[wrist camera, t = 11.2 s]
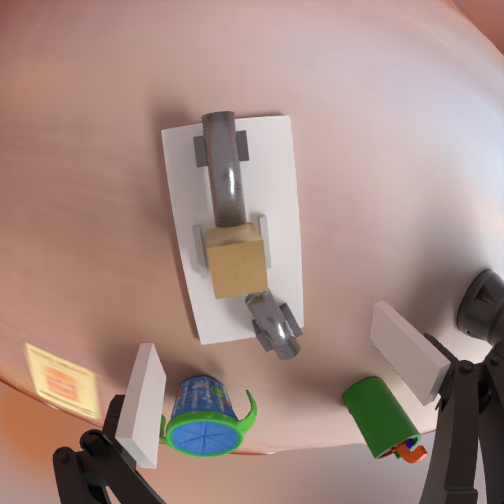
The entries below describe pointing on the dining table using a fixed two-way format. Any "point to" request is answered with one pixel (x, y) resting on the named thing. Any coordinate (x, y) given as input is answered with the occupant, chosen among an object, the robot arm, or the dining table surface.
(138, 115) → the dining table surface
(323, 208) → the dining table surface
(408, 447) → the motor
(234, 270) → the block
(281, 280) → the base plate
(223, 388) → the snack cup
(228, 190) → the shaft
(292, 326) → the shaft
